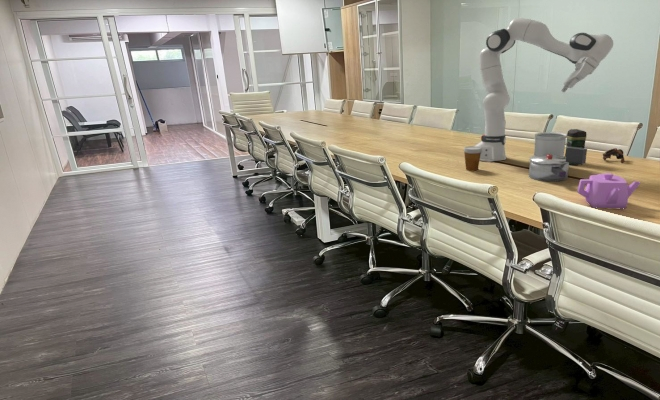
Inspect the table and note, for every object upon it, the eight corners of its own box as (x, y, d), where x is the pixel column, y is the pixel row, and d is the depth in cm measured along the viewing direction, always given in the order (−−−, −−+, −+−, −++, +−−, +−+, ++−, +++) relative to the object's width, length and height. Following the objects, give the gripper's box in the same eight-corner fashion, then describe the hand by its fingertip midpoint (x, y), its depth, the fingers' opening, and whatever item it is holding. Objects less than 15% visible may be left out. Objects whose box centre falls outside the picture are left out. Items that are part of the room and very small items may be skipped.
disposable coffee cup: (481, 167, 236) (482, 146, 233) (481, 171, 228) (482, 149, 224) (463, 167, 240) (463, 146, 236) (462, 171, 231) (463, 149, 227)
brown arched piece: (621, 165, 224) (614, 152, 224) (604, 170, 232) (597, 157, 232) (632, 156, 229) (624, 142, 229) (614, 161, 238) (607, 148, 237)
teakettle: (595, 194, 180) (599, 166, 177) (639, 204, 166) (644, 174, 162) (570, 203, 173) (574, 173, 169) (614, 214, 158) (619, 182, 155)
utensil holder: (565, 170, 219) (568, 136, 214) (533, 170, 225) (536, 136, 219) (561, 164, 233) (564, 132, 227) (531, 163, 238) (533, 132, 232)
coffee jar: (585, 165, 227) (589, 130, 222) (570, 166, 227) (574, 131, 222) (576, 161, 236) (580, 127, 231) (561, 162, 237) (565, 128, 231)
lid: (521, 160, 211) (522, 145, 209) (543, 155, 219) (544, 140, 217) (572, 169, 190) (573, 152, 188) (594, 162, 199) (596, 146, 196)
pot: (522, 171, 224) (523, 156, 221) (557, 170, 221) (558, 155, 218) (541, 187, 195) (542, 170, 192) (581, 186, 192) (583, 169, 189)
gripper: (572, 68, 218) (553, 90, 220) (588, 56, 198) (568, 80, 200) (582, 75, 217) (564, 97, 219) (600, 64, 197) (579, 88, 199)
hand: (566, 89), depth 209 cm, fingers open, 8 cm apart
